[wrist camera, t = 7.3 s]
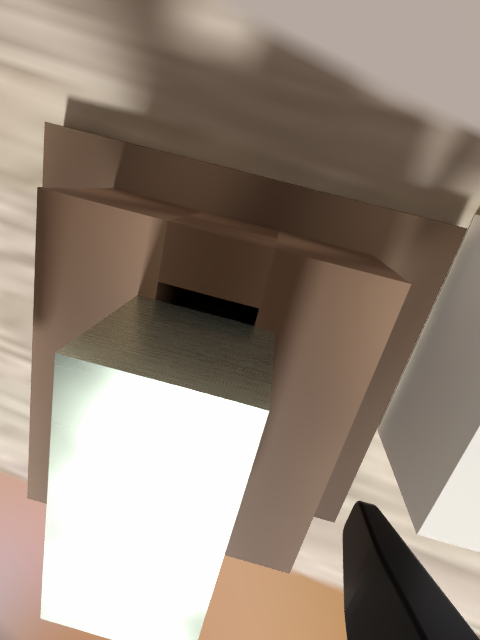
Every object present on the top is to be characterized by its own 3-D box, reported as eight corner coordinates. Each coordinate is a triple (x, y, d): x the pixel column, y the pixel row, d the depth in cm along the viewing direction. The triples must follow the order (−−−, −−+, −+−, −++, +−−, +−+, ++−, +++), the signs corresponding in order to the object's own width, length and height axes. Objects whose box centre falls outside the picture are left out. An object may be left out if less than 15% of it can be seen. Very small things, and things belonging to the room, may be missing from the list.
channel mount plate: (453, 225, 12) (555, 247, 8) (331, 504, 17) (348, 623, 12) (62, 126, 13) (-67, 90, 8) (46, 424, 17) (-42, 510, 13)
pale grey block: (278, 294, 12) (269, 410, 6) (232, 454, 15) (190, 662, 8) (176, 267, 12) (54, 353, 6) (148, 430, 15) (40, 618, 8)
